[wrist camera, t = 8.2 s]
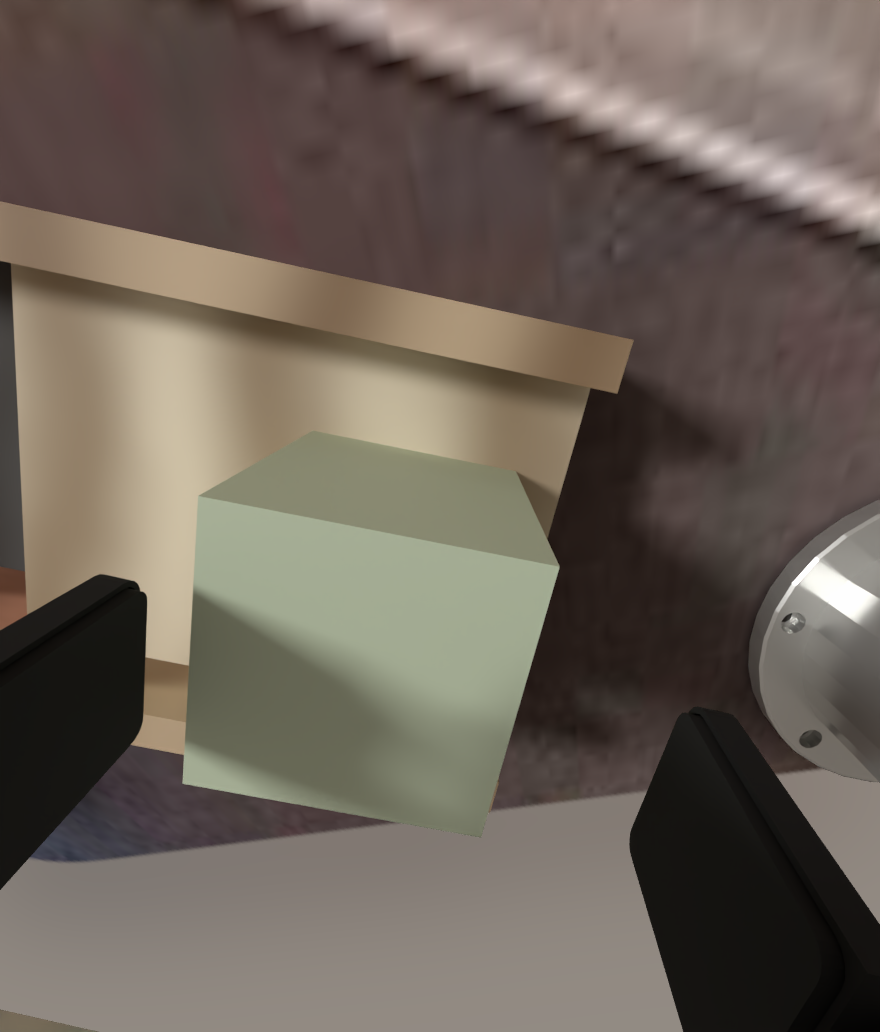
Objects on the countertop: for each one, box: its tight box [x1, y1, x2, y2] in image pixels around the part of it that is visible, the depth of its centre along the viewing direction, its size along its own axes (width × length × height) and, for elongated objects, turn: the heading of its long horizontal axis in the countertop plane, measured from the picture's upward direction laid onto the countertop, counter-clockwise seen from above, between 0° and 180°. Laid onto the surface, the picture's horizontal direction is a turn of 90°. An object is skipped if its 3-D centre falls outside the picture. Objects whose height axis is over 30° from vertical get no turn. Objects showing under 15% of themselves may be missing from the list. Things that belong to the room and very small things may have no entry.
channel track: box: [0, 201, 633, 813], centre depth 17 cm, size 26×14×6 cm, turn 78°
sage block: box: [183, 431, 560, 837], centre depth 13 cm, size 6×6×7 cm
